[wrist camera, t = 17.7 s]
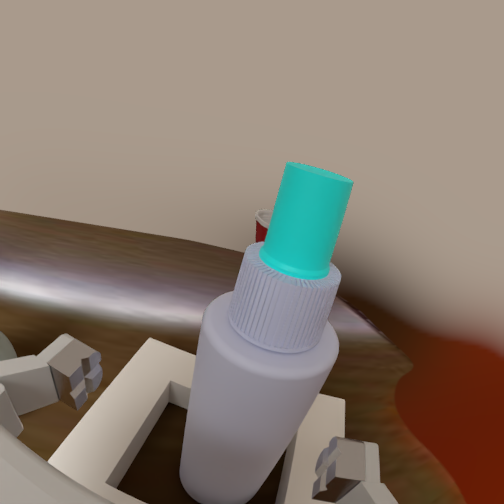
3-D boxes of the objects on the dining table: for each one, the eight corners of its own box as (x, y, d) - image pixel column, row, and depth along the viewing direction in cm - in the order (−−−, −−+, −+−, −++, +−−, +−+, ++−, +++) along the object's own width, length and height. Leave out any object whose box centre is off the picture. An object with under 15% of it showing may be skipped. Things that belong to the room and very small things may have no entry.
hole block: (39, 505, 12) (25, 490, 11) (148, 359, 29) (149, 337, 28) (309, 602, 10) (327, 600, 8) (332, 418, 27) (344, 399, 26)
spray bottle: (267, 462, 21) (389, 188, 13) (244, 521, 16) (417, 216, 7) (198, 436, 22) (262, 149, 14) (165, 490, 17) (205, 152, 9)
